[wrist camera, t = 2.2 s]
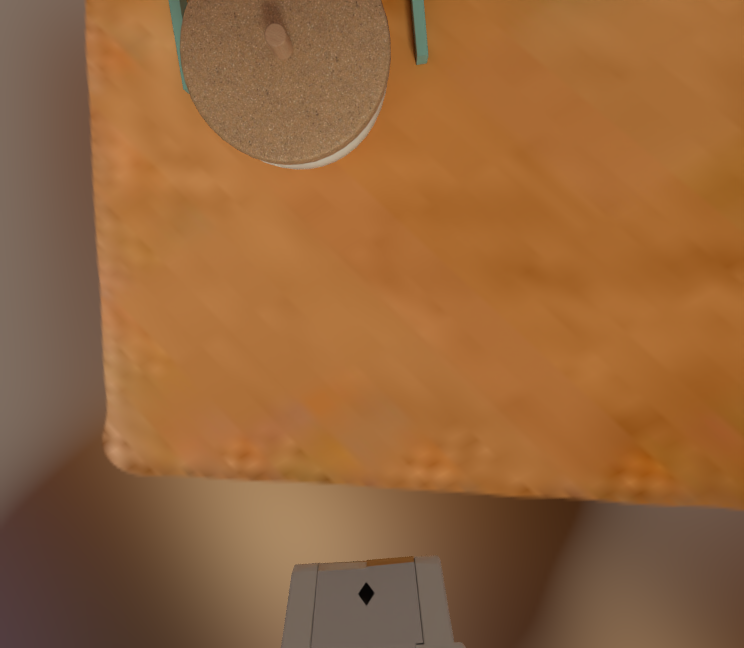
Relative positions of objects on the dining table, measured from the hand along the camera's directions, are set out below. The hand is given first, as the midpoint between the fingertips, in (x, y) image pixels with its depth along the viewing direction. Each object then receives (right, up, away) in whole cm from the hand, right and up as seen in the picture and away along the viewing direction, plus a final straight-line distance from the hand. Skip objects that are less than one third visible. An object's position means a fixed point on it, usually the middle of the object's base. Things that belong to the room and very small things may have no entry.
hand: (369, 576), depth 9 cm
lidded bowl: (-5, +23, +26) cm, 35 cm away
